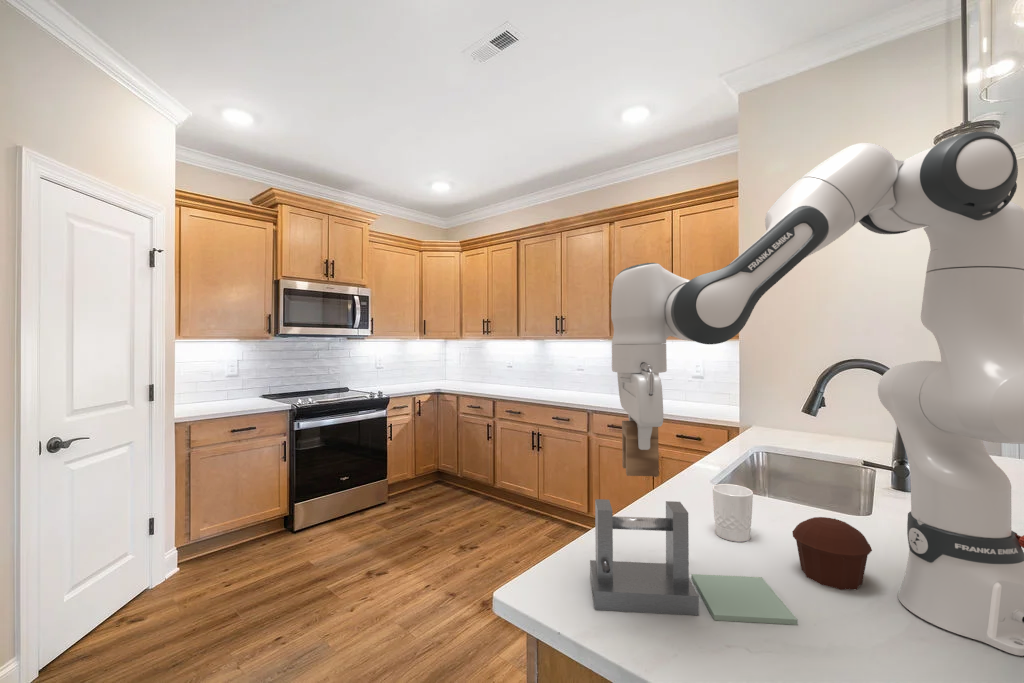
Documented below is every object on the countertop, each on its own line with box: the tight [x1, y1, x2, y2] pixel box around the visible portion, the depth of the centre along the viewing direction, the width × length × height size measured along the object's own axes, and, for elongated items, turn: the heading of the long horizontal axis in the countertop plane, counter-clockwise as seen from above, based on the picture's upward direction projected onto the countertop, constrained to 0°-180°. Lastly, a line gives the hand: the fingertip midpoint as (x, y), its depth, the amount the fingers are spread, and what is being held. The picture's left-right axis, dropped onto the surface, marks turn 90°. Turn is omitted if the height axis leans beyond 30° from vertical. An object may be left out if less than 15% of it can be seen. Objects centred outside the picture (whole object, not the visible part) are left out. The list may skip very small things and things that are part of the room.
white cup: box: [712, 483, 754, 543], centre depth 98 cm, size 8×8×10 cm
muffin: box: [792, 516, 873, 591], centre depth 81 cm, size 12×11×10 cm
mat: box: [690, 573, 799, 626], centre depth 74 cm, size 12×12×1 cm
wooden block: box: [621, 420, 660, 477], centre depth 76 cm, size 5×5×8 cm
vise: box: [589, 498, 700, 616], centre depth 76 cm, size 16×10×15 cm, turn 84°
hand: (639, 443), depth 76 cm, fingers closed on wooden block, 5 cm apart
